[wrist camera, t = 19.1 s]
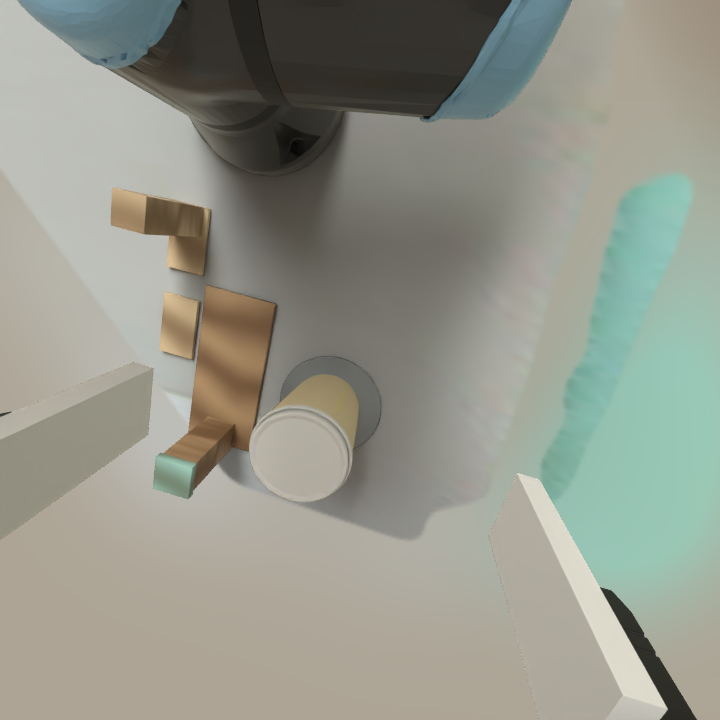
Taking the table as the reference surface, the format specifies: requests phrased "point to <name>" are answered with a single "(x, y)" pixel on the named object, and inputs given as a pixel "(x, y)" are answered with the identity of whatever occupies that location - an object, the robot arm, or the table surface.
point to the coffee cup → (307, 440)
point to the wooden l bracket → (220, 389)
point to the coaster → (353, 377)
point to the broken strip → (170, 255)
